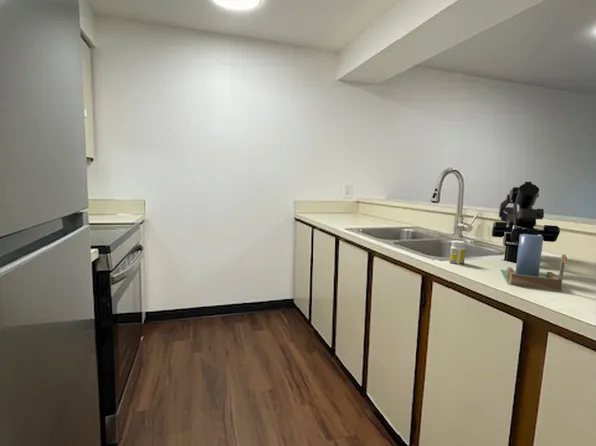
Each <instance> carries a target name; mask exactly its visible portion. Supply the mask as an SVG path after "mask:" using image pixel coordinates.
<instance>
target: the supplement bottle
mask: <svg viewBox="0 0 596 446" xmlns="http://www.w3.org/2000/svg"><path fill="white" fill-rule="evenodd" d="M465 244H466V243H465V241H462V240H452V242H451V246H450V253H449V254H450V255H449V264H450V265H459V266H460V265H461V266H462V265H465V259H466V247H465Z"/></svg>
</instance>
